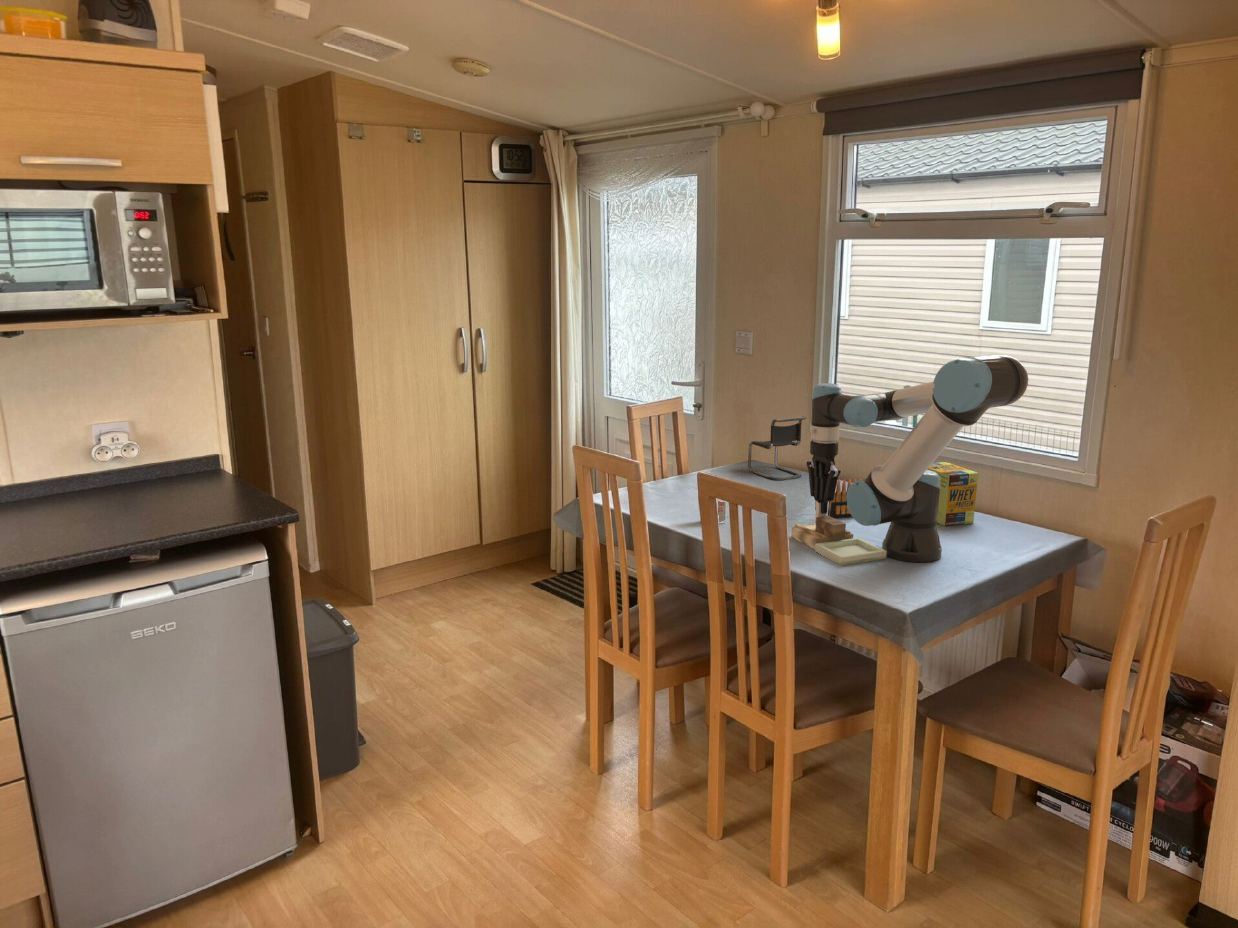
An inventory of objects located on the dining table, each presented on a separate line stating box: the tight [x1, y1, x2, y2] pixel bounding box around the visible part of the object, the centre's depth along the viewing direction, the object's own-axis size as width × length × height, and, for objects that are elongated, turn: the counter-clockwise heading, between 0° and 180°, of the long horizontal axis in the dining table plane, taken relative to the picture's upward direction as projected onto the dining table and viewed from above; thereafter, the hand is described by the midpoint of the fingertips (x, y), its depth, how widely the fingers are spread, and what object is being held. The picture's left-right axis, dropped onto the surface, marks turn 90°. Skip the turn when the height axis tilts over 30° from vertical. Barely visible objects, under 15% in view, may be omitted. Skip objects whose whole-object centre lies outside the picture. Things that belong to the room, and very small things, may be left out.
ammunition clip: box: [827, 477, 863, 519], centre depth 274 cm, size 11×2×12 cm, turn 103°
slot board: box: [790, 523, 854, 550], centre depth 252 cm, size 12×12×4 cm
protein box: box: [927, 461, 979, 527], centre depth 273 cm, size 10×15×16 cm
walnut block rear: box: [815, 516, 838, 535], centre depth 250 cm, size 4×4×4 cm
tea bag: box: [718, 501, 726, 522], centre depth 269 cm, size 4×7×10 cm, turn 104°
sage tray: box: [814, 537, 887, 566], centre depth 241 cm, size 12×14×2 cm
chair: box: [747, 415, 807, 481], centre depth 325 cm, size 13×17×22 cm
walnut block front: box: [824, 519, 847, 539], centre depth 246 cm, size 4×4×4 cm
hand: (820, 523), depth 253 cm, fingers closed
